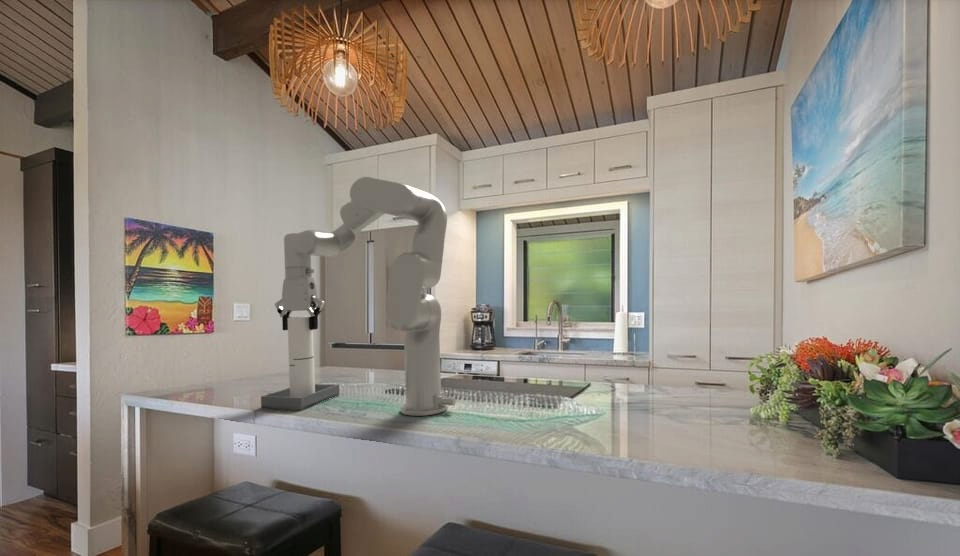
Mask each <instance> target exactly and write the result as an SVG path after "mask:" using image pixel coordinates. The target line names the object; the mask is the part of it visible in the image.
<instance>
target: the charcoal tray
mask: <svg viewBox="0 0 960 556" xmlns="http://www.w3.org/2000/svg"><path fill="white" fill-rule="evenodd" d="M338 395H340V384H331V383H325V384H324V383H315V392H314V393H312V394H309V395H306V396H303V397H290V387H287V388H284V389H281V390H278V391H273V392H271V393H268V394H264V395H262V396H261V395H260V408H269V409H268V410H279V409H284V410H283V411H301V412H302V411H304V410H306V409H307V410H308V409H309V408H312V407H314V405H315V406H317V405H319V404H318V403H320V402H322V401H324V400H327V399H329V398H332V397H335V396H337V397H339V396H338ZM335 398H336V397H335ZM332 399H333V398H332ZM327 401H328V400H327ZM322 403H323V402H322ZM316 404H317V405H316ZM320 404H321V403H320Z"/></svg>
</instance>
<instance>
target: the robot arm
mask: <svg viewBox="0 0 960 556" xmlns="http://www.w3.org/2000/svg"><path fill="white" fill-rule="evenodd" d="M349 196H350V201H348V202H346V203H345V204H344V205H342V207H341V208H340V210H339V214H340V219H341V220H342V222H343V224H342V225H341V226H338V228H336V229H335V230H333V231H332V232H328V231H322V230H321V231H320V230H313V229H309V230H303V231H302V232H294V233H293V232H292V233H287V234H286V235H284V238H283V248H284V253H283V255H284V279H283V282H282V293H281V299H279V300H278V301H276V302H275V303H274V306H275V308H276V311H277V314H279V316H280V318H282V320H281V321H282V330H283V331H288V318H289V317H291V315H292V312H295V311H296V312H298V311H307V313H308V314H309V316H311V317H309V329H310V330H313V331H314V330H318V329H319V321H318V320H319V319H318V316H320V313H321V312H322V311H323V308H324V305H325V301H324V300H323V299H321V298H320V297H318V291H317V290H318V289H317V285H316V281H315V278H314V277H312V274H314V273H315V270H314V269H312V256H313V257H314V256H316V257H330V258H331V257H337V256H338V255H341V253H343V252H345V251H346V250H348V249H349V248H350V247H352V246H353V245H355V243H356V242H357V241H358V238H359V237H360V235H361V231H362V230H363V229H365V228H367V227H368V226H369V225H371V224H372V223H373V222H375V221H376V220H378V219H379V218H381V217H382V216H384V215H385V214H386V215H391V216H393V217H399V218H402V219H406V220H411V221H415V222H417V227H416V228H415V230H414V233H413V238H412V246H411V251H406V252H402V253H401V254H399V255H398V256H396V258H395V259H394V260H393V262H392V264H391V267H390V270H389V277H388V284H387V292H386V293H387V294H386V302H385V316H386V320H387V323H388V325H389V326H390V327H391V328H392V329H394V330H396V331H398V332H406V333H405V335H404V336H405V337H404V347H403V348H404V353H403V354H404V377H405V378H404V379H405V380H404V381H405V382H404V383H405V403H404V404H403V405H401V407H400V413H401V414H403V415H406V416H413V417H414V416H415V417H416V416H417V417H423V416H432V415H437V414H440V413H441V414H442V413H444V412H446V411H447V410H448V406H455V405H456V397H454V396H446V395H445V394H446V393H445V391H444V390H442V384H441V383H442V380H441V379H442V378H441V357H440V356H441V353H440V352H441V351H440V350H441V349H440V347H441V345H440V334H441V333H440V331H441V330H440V329H441V320H442V308H441V305H440V302H439V300H438V299H437V298H436V297H434V296H433V295H431V294H428V293H426V292H424V293H423V289H431V288H434V287H435V286H436V285H437V284H438V283H439V281H440V279H441V275H442V267H443V256H444V251H445V250H444V248H445V238H446V233H447V232H446V230H447V224H448V214H447V210H446V208H445V206H444V205H443V203H442V202H441V201H440V200H439V199H438V198H437V197H436V196H434V195H433V194H431V193H430V192H426V191H424V190H421V189H418V188H416V187H413V186H410V185H408V184H405V183H399V182H395V181H389V180H385V179H379V178H375V177H370V176H362V177H360V178H358V179H357V180H355V181H354V182H353V183H352V185H351V187H350V190H349Z"/></svg>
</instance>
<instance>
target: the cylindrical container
mask: <svg viewBox="0 0 960 556" xmlns="http://www.w3.org/2000/svg"><path fill="white" fill-rule="evenodd" d="M309 317H311V315H302V316H289V318H288V330H287V342H288V343H287V344H288V347H287V348H288V371H289V372H288V373H289V378H288V379H289V388H290V397H303V396H306V395H309V394H312V393H314V392H315V384H316V380H315V378H316V377H315V376H316V375H315V352H314V351H315V349H314V330H310V329H309Z"/></svg>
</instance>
